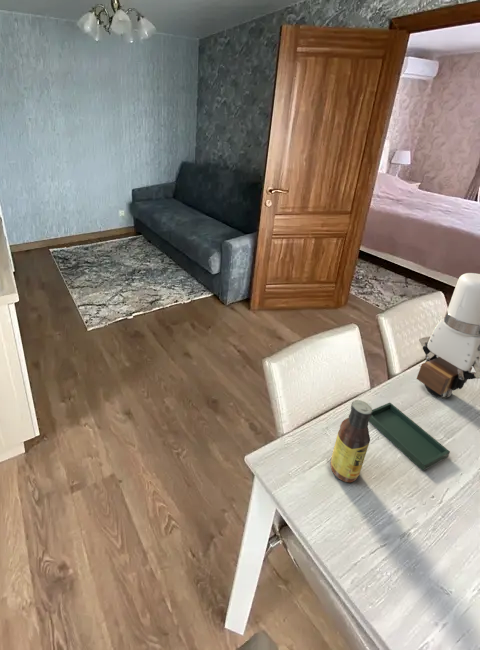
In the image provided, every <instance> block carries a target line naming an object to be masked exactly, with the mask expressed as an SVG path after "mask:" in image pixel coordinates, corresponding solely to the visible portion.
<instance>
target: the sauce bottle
mask: <svg viewBox="0 0 480 650" xmlns="http://www.w3.org/2000/svg"><path fill="white" fill-rule="evenodd" d="M350 405H351V406H350V413H349V415H348V417H347V418H345V419H344V420H342V421H341V423H340V425H339V430H338V432H337V435H336V438H335V441H334V442H335V444H334V447H333V450H332V453H331V458H330V468H331V472H332V473H333V475H334V476H335V477H336V478H337V479H339V480H340V481H342V482H345V483H353V482H355V481H356V480H357V479H358V478H359V476H360V474H361V470H362V468H363V464H364V461H365V458H366V455H367V452H368V448H369V445H370V442H371V438H370V437H371V436H370V431H369V423H370V422H369V418H370V417H371V416H372V410H373V408H372V406H371V405H370V404H369V403H368V402H366V401H364V400H361V399H354V400H353V401H352V402H351V404H350Z"/></svg>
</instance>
